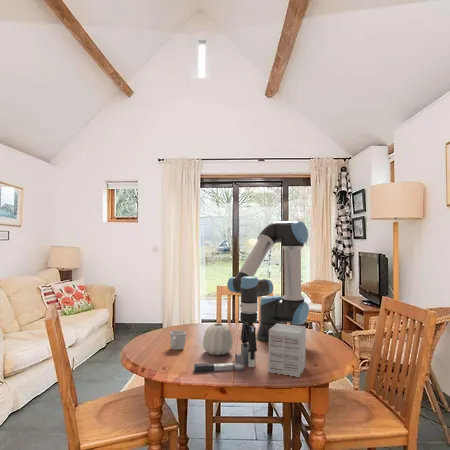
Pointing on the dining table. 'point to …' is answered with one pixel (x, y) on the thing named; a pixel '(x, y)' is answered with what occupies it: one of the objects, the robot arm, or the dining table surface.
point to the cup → (177, 339)
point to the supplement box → (287, 349)
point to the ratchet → (221, 365)
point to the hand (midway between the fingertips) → (248, 362)
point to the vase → (217, 340)
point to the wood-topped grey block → (245, 353)
